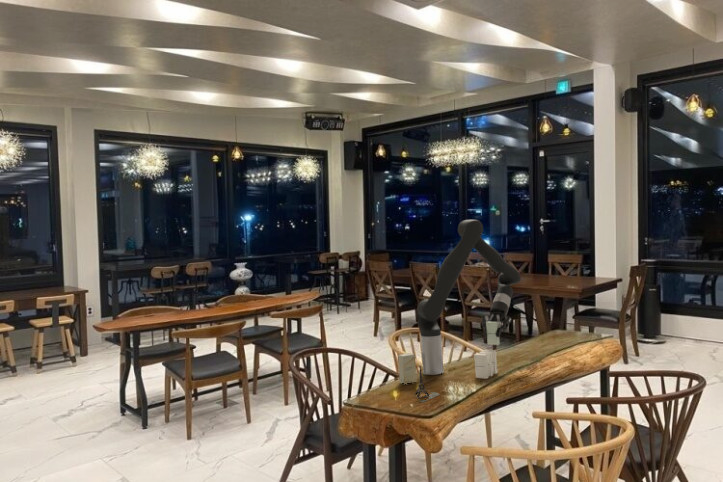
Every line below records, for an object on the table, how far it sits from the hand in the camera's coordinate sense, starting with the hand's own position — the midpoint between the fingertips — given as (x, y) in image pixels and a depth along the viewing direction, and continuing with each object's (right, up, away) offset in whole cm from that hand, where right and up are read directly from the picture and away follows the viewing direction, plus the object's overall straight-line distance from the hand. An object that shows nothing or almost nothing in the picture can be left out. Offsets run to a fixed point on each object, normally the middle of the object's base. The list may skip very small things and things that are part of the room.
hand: (491, 335), depth 251 cm
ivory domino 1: (-6, -16, -9) cm, 20 cm away
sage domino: (+1, -4, +1) cm, 5 cm away
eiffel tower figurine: (-34, -19, -31) cm, 49 cm away
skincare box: (-38, -19, -9) cm, 43 cm away
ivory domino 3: (0, -16, -2) cm, 16 cm away
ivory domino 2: (-3, -16, -6) cm, 18 cm away
